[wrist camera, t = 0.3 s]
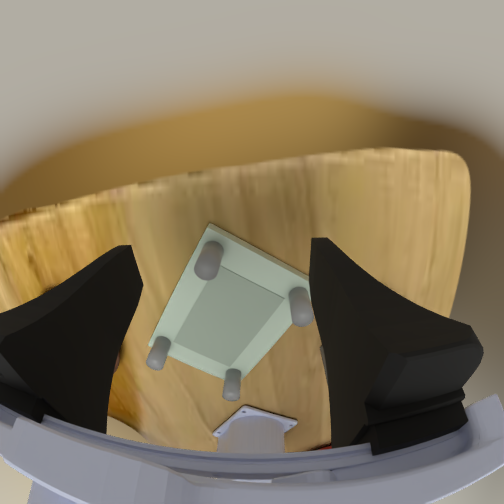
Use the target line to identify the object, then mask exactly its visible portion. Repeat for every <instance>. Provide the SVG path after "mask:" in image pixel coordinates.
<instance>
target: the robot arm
mask: <svg viewBox="0 0 504 504" xmlns="http://www.w3.org/2000/svg"><path fill="white" fill-rule="evenodd" d="M142 288H143V282H142V279H141V276H140V273H139V270H138V266H137V263H136V260H135V257H134V253H133V250H132V247H131V245H121V246H117V247H115V248H113V249H111V250H110V251H108V252H106V253H105V254H103V255H102V256H100V257H99V258H97V259H96V260H95V261H93V262H92V263H90V264H89V265H87V266H86V267H85V268H83V269H82V270H80V271H79V272H77V273H76V274H74V275H73V276H71V277H70V278H69V279H67V280H66V281H64V282H63V283H61V284H59V285H58V286H56V287H55V288H53V289H51V290H50V291H48V292H46V293H44V294H43V295H41V296H39V297H37V298H35V299H33V300H31V301H29V302H27V303H25V304H23V305H20V306H18V307H16V308H13V309H11V310H8V311H6V312H3V313H0V456H2V457H3V459H4V461H5V463H6V464H8V465H9V466H11V467H12V468H13V469H15V470H17V471H18V472H20V473H21V474H23V475H25V476H26V477H28V478H30V479H31V480H33V483H32V487H31V491H30V494H29V499H28V503H27V504H431V503H433V502H435V501H438V500H440V499H442V498H445V497H447V496H449V495H451V494H453V493H455V492H458V491H460V490H462V489H464V488H466V487H467V486H469V485H471V484H473V483H475V482H477V481H478V480H480V479H482V478H484V477H486V476H487V475H489V474H491V473H492V472H494V471H496V470H497V469H499V468H500V467H502V466H504V410H503V407H502V405H501V403H500V400H499V398H498V396H497V394H493V395H491V396H489V397H486V398H484V399H481V400H479V401H477V402H475V403H472V404H470V405H469V406H467V407H466V408H465V409H464V407H463V405H462V402H461V401H462V400H463V399H464V398H465V394H464V391H463V389H462V387H463V385H464V384H465V383H466V382H467V381H468V379H469V378H470V377H471V376H472V374H473V373H474V372H475V370H476V369H477V367H478V366H479V364H480V363H481V359H482V356H483V353H484V352H483V347H482V345H481V343H480V342H479V340H478V338H477V336H476V334H475V333H474V331H473V330H472V328H471V326H470V325H467V324H464V323H461V322H458V321H455V320H452V319H449V318H446V317H444V316H441V315H439V314H437V313H434V312H432V311H430V310H427V309H425V308H423V307H421V306H419V305H417V304H415V303H413V302H411V301H410V300H408V299H406V298H404V297H402V296H401V295H399V294H397V293H396V292H394V291H392V290H391V289H389V288H388V287H386V286H385V285H383V284H382V283H380V282H379V281H378V280H376V279H375V278H373V277H372V276H371V275H370V274H368V273H367V272H366V271H365V270H363V269H362V268H361V267H360V266H358V265H357V264H356V263H355V262H354V261H353V260H352V259H350V258H349V257H348V256H347V255H346V254H345V253H344V252H343V251H342V250H340V249H339V248H338V247H337V246H336V245H335V244H334V243H333V242H332V241H331V240H330V239H328V238H311V255H310V269H309V288H310V296H311V303H312V307H313V311H314V315H315V318H316V322H317V326H318V330H319V334H320V338H321V342H322V346H323V350H324V355H325V361H326V370H327V378H328V389H329V400H330V416H331V445H332V449H325V450H316V451H305V452H291V453H285V446H284V433H285V432H287V431H288V430H290V429H291V428H292V427H294V426H295V425H297V420H293V419H290V418H286V417H282V416H279V415H275V414H272V413H269V412H265V411H262V410H259V409H256V408H252V407H249V406H243V407H241V408H240V409H239V410H238V411H237V412H236V413H235V414H234V415H232V416H231V417H230V418H229V419H228V420H227V421H226V422H224V423H223V424H222V425H221V426H220V427H219V428H217V429H216V430H215V431H214V432H213V436H216V437H219V438H218V446H217V452H207V451H196V450H186V449H178V448H171V447H164V446H158V445H152V444H147V443H142V442H136V441H132V440H127V439H123V438H119V437H115V436H111V435H107V434H106V431H107V412H108V403H109V395H110V389H111V383H112V378H113V373H114V369H115V364H116V360H117V356H118V353H119V350H120V347H121V345H122V342H123V340H124V337H125V335H126V332H127V330H128V327H129V325H130V323H131V320H132V318H133V316H134V313H135V311H136V308H137V306H138V303H139V300H140V296H141V292H142ZM208 477H209V478H208ZM215 478H217V479H215Z"/></svg>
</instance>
